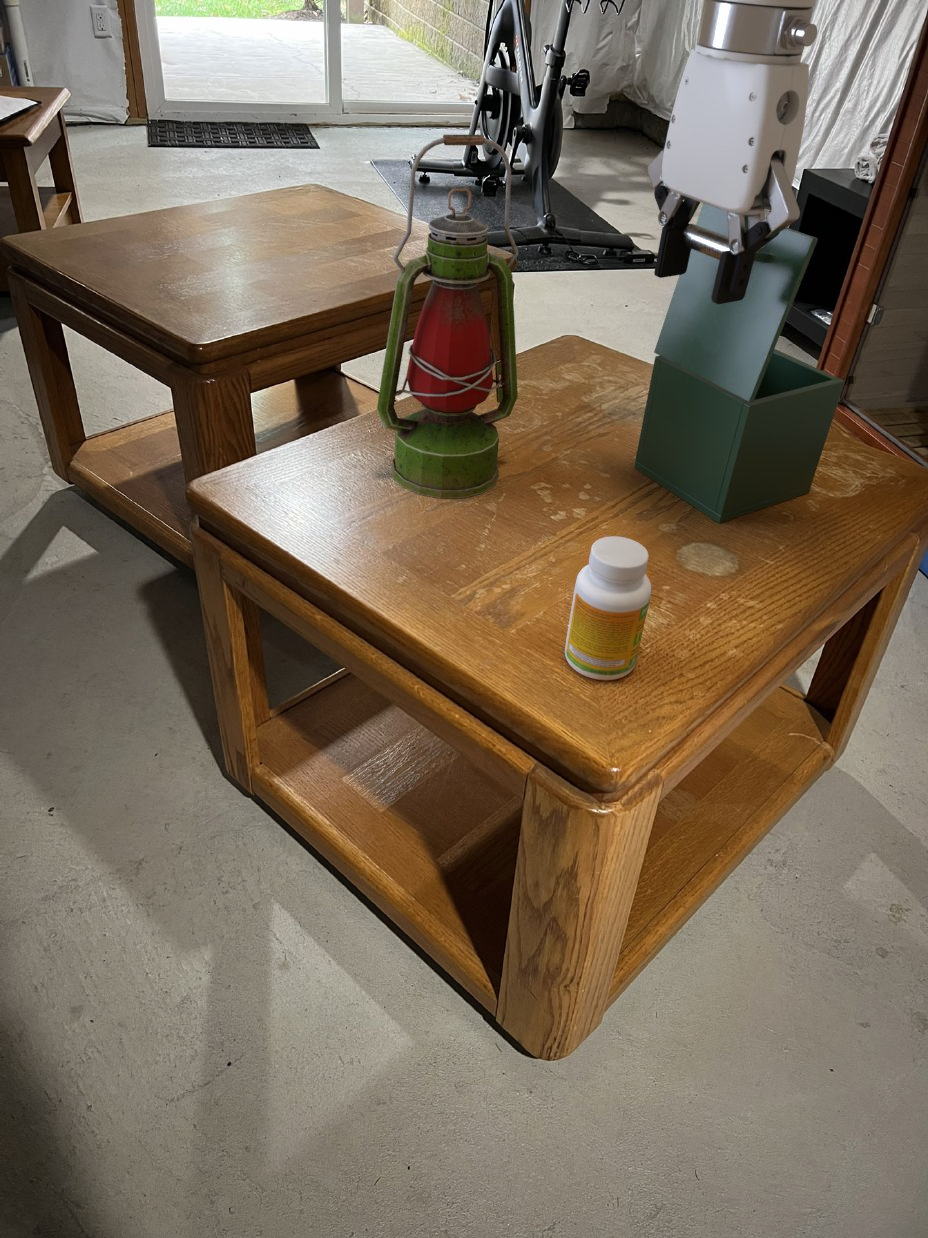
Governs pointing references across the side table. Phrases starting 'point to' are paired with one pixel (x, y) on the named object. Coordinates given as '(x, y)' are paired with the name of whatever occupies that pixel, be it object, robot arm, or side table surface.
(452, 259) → the lantern
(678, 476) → the bin
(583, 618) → the supplement bottle
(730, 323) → the bin lid
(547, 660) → the side table surface
